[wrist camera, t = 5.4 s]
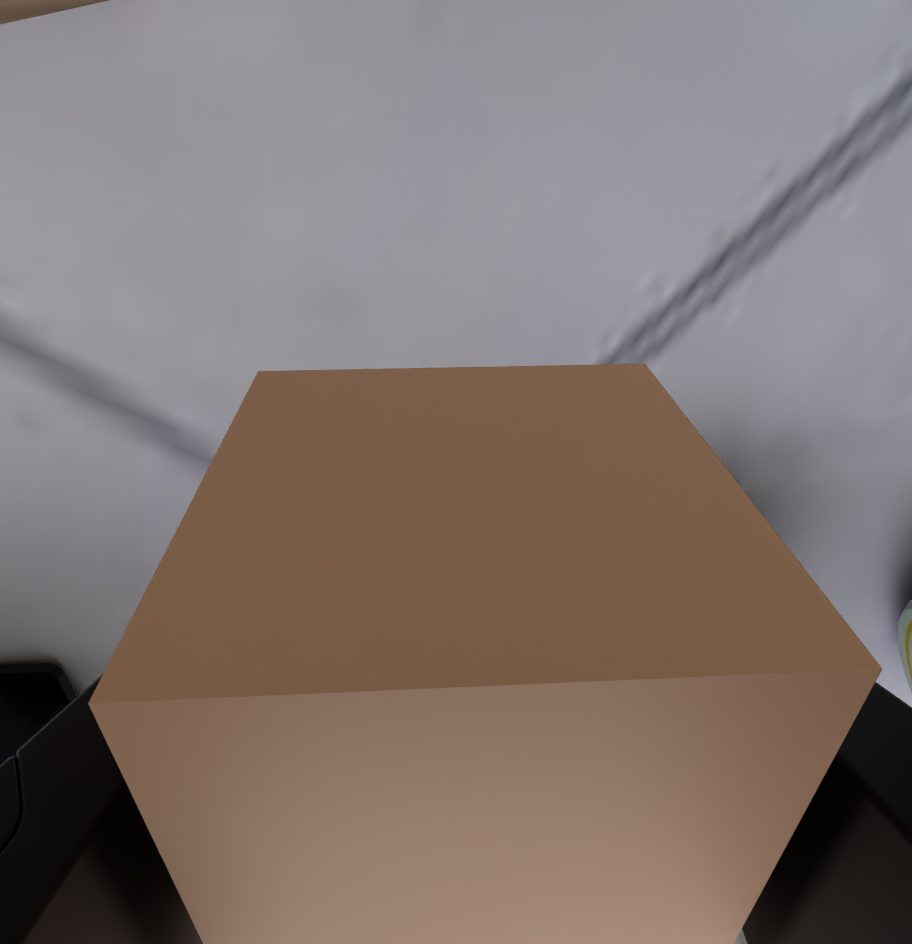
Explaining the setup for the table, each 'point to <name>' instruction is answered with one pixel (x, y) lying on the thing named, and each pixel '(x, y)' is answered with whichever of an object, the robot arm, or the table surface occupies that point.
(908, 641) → the air freshener
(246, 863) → the terracotta cube
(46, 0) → the walnut cube
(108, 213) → the table surface
